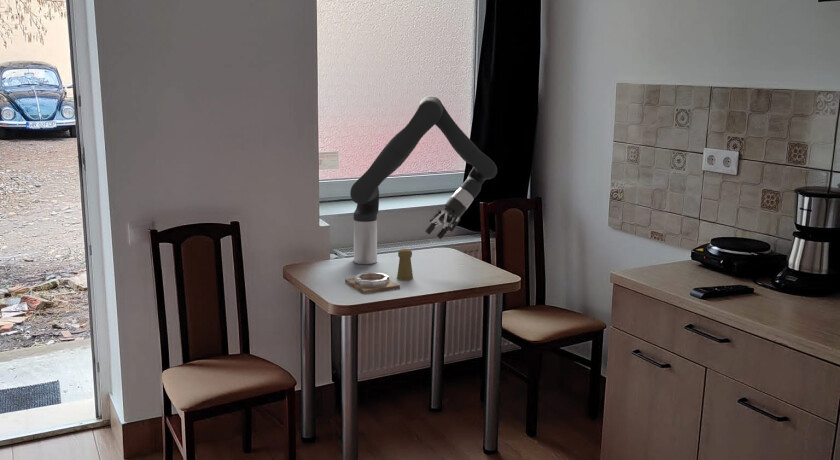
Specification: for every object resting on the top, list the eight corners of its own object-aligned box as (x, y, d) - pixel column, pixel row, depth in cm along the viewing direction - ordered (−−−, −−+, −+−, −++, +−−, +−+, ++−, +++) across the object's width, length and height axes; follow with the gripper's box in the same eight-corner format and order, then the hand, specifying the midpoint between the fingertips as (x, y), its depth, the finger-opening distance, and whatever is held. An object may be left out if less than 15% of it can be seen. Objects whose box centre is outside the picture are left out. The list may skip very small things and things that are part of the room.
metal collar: (351, 280, 280) (351, 274, 280) (379, 276, 286) (379, 271, 285) (364, 288, 270) (364, 282, 270) (393, 284, 276) (393, 278, 275)
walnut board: (345, 282, 282) (345, 279, 281) (379, 277, 288) (379, 274, 288) (363, 293, 268) (363, 290, 268) (399, 288, 275) (399, 285, 275)
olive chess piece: (411, 280, 285) (411, 251, 282) (395, 279, 286) (395, 250, 283) (414, 276, 290) (414, 247, 288) (398, 275, 291) (399, 246, 289)
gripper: (443, 193, 297) (417, 225, 294) (463, 199, 285) (436, 232, 282) (455, 205, 301) (429, 237, 298) (475, 212, 289) (448, 245, 286)
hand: (432, 235), depth 290 cm, fingers open, 8 cm apart
